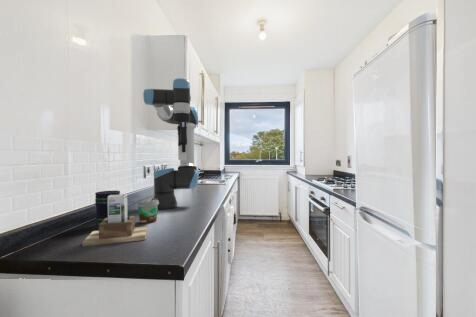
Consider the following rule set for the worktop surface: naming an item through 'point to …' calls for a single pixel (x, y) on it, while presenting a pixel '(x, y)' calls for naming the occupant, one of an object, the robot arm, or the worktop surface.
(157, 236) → the worktop surface
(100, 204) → the storage jar
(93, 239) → the box
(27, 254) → the worktop surface
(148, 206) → the food container
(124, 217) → the syrup box
